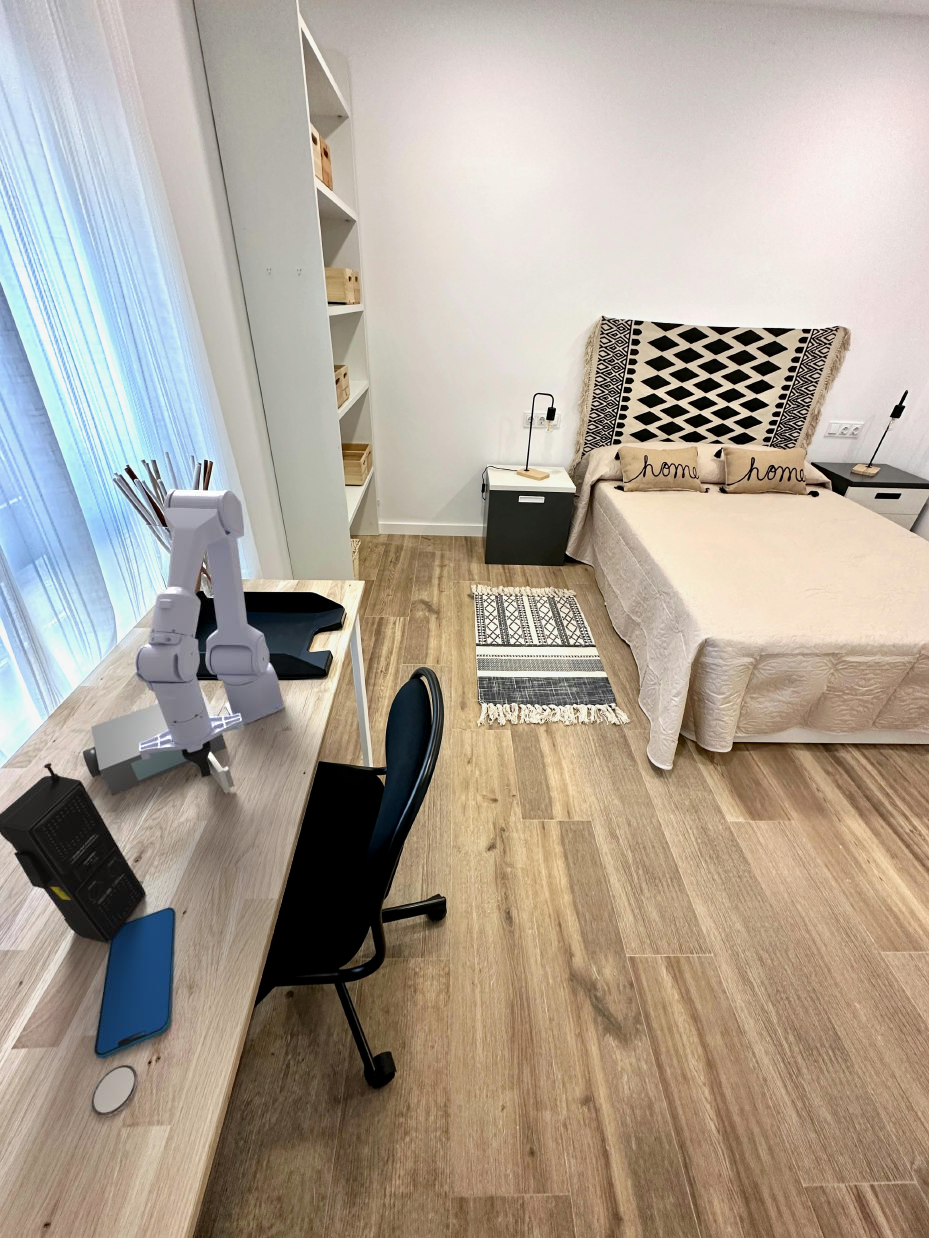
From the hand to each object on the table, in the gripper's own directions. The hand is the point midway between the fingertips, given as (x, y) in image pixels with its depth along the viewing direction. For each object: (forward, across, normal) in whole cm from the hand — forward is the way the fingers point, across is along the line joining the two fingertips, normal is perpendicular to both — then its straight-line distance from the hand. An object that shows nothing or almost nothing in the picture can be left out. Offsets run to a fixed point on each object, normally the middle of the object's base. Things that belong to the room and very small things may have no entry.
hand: (206, 772), depth 84 cm
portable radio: (+3, -14, -17) cm, 23 cm away
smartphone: (+4, -11, -27) cm, 29 cm away
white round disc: (+3, -13, -38) cm, 40 cm away
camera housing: (+3, -6, +12) cm, 14 cm away
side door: (+2, +1, +1) cm, 3 cm away
